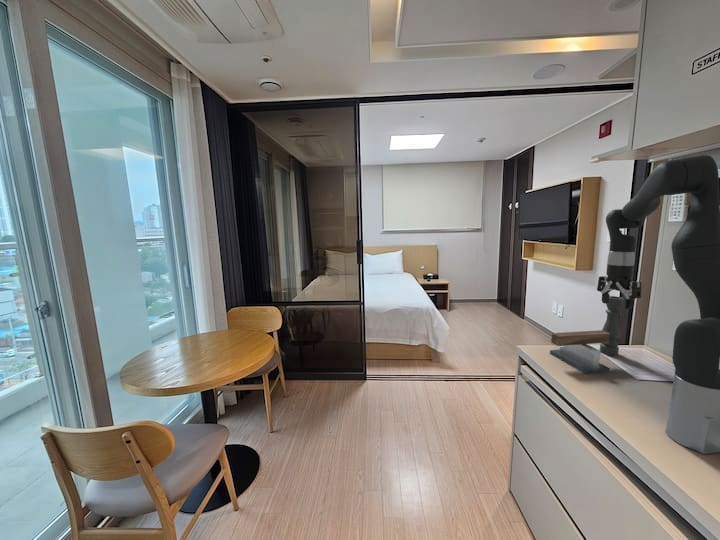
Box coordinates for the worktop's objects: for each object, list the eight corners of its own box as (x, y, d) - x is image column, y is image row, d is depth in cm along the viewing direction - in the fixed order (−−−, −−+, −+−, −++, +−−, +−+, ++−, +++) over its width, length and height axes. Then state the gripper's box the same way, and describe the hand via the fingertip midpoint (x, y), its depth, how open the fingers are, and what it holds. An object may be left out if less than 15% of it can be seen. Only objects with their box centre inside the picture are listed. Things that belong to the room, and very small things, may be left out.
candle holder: (621, 356, 124) (629, 299, 120) (607, 356, 124) (613, 299, 120) (609, 349, 130) (616, 295, 126) (595, 349, 130) (601, 296, 126)
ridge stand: (609, 371, 112) (611, 351, 110) (586, 374, 110) (588, 353, 109) (570, 351, 129) (571, 333, 128) (549, 353, 128) (551, 335, 127)
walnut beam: (608, 342, 118) (609, 333, 117) (557, 345, 116) (558, 336, 115) (601, 339, 121) (602, 330, 121) (551, 342, 120) (552, 333, 119)
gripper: (650, 265, 101) (645, 310, 104) (610, 261, 115) (606, 300, 118) (632, 266, 100) (627, 311, 103) (593, 262, 114) (590, 302, 117)
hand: (616, 305), depth 110 cm, fingers open, 8 cm apart
